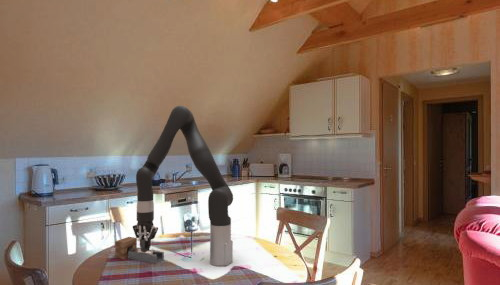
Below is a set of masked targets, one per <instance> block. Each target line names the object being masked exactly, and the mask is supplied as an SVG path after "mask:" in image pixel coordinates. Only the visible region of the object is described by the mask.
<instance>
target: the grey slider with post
mask: <svg viewBox="0 0 500 285" xmlns="http://www.w3.org/2000/svg"><path fill="white" fill-rule="evenodd" d="M129 250H131V251H137V252H142V253H148V254H154V252H153V251H148V250H150V248H149V249H146V238H144V239H141V249H136V248H129ZM129 250H128V251H129Z"/></svg>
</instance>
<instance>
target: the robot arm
mask: <svg viewBox="0 0 500 285" xmlns="http://www.w3.org/2000/svg"><path fill="white" fill-rule="evenodd" d="M179 131H181V133H182V135H183V136H184V139H185V141H186V146H187V151H188V154H189V156H190V158H191V161H192V163H193V164H194V167H195V168H196V170H198V172H199V174H200V175H202V177H203V178H204V179H205V180H206V181H207V182H208V184H209V186H210V189H211V190H212V191H210V193H209V196H208V201H207V202H208V203H207V208H208V218H209V222H210V223H209V225H210V226H209V228H210V230H209V234H210V235H209V255H210V256H209V257H210V258H209V263H210V265H212V266H216V267H222V266H224V267H227V266H228V265H229V264H231V263H232V262H233V258H234V257H233V256H234V255H233V253H234V252H233V251H234V248H233V246H234V244H233V243H234V241H233V240H232V230H231V229H232V218H231V217H230V216H229V206H231V205H232V203H233V201H234V195H233V191H232V190H231V188H230V186H229V184H228V183H227V182H226V181H225V179H224V177H223V175H222V174H221V171H220V169H219V167H218V164H217V162H216V161H215V159H214V156H213V154H212V152H211V150H210V148H209V147H208V144H207V143H206V141H205V139H204V138H203V136H202V134H201V132H200V131H199V128H198V125H197V123H196V120H195V117H194V114H193V113H192V111H191V110H190V109H189V108H188V107H186V106H184V105H176V106H175V107H173V109H172V110H171V111H170V115H169V117H168V118H167V121H166V124H165V126H164V128H163V130H162V132H161V133H160V135H159V138H158V139H157V141H156V143H155V145H154V146H153V147H152V149H151V150H150V152H149V153H148V156H147V158H146V161H145V162H144V164H143V166H142V167H139V169H138V170H137V171H136V173H135V174H136V176H135V182H136V188H137V200H136V201H137V202H136V221H137V223H136V224H135V225H132V229H133V232H134V236H135V238H137V239H138V241H139V248H141V239H144V238H146V249H149V250H150V248H151V242H152V240H154V239H155V238H156V235H157V234H158V230H159V227H158V226H154V219H155V218H154V217H155V213H154V212H155V205H154V204H155V203H154V189H153V179H154V177H155V176H156V174H157V172H158V170H159V168H160V166H161V165H162V163H163V162H164V160H165V159H166V157H167V156H168V154H169V152H170V149H171V147H172V145H173V141H174V139H175V137H176V135H177V134H178V132H179Z"/></svg>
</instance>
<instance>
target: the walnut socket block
mask: <svg viewBox="0 0 500 285" xmlns="http://www.w3.org/2000/svg"><path fill="white" fill-rule="evenodd" d="M137 239H138V238H136V237H134V236H126V237H124V238H121V239H118V240H116V241H115V242H114V244H115V245H114V250H115V251H114V252H115V253H114V257H115V258H116V259H120V260H124V259H126V258H127V259H128V250H129V248H138V247H137V246H138V245H137V242H138V240H137Z"/></svg>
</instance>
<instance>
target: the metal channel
mask: <svg viewBox="0 0 500 285" xmlns="http://www.w3.org/2000/svg"><path fill="white" fill-rule="evenodd" d="M136 249H141V248H140V247H137V248H136ZM148 251H153V252H154V254H148V253H142V252H137V251H131V250H129V251H128V257H127V259H128V260H133V261H139V262H143V263H144V262H145V263H150V264H155V265H156V264H158V263H160V262H162V261H164V260H165V258H164V257H165V256H164V254H165V252H164V251H160V250H153V249H149V250H148Z"/></svg>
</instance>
